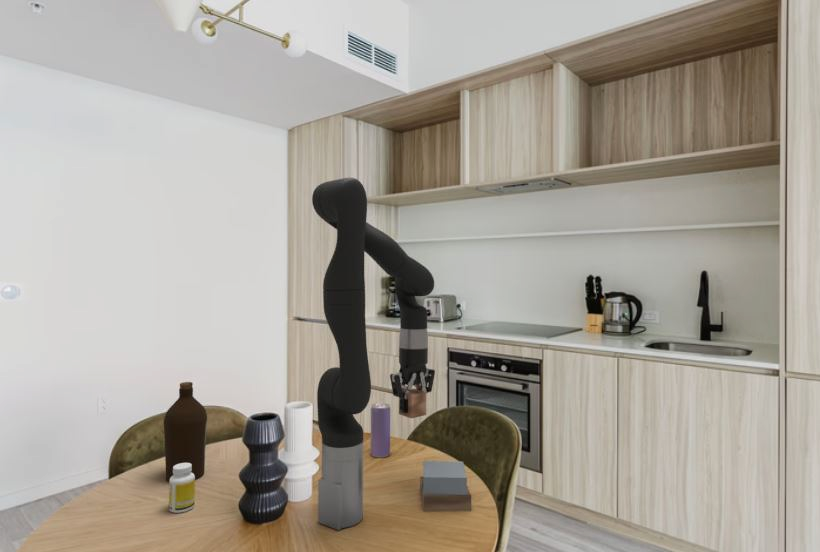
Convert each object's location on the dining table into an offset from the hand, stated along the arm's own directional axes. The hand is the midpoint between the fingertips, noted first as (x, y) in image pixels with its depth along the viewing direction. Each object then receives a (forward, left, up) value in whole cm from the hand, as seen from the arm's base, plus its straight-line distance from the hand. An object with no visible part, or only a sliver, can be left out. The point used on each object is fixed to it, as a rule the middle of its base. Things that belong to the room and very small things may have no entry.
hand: (412, 410), depth 126 cm
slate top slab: (-3, -11, -16) cm, 19 cm away
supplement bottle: (-40, +37, -19) cm, 58 cm away
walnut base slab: (-3, -11, -20) cm, 23 cm away
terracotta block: (0, 0, -1) cm, 1 cm away
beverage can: (+13, +19, -19) cm, 30 cm away
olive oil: (-29, +53, -19) cm, 64 cm away
